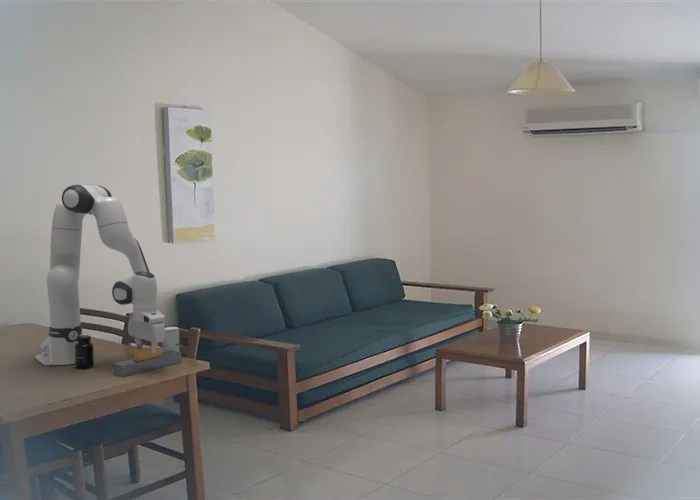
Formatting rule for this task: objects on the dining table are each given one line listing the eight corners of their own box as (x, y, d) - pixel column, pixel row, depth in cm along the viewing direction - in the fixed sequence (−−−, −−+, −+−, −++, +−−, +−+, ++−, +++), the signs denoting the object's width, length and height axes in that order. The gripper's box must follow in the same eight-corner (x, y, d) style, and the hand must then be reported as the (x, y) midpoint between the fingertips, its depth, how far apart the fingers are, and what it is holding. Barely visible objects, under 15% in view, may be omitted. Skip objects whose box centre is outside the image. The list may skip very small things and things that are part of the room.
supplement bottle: (76, 370, 270) (75, 339, 269) (74, 366, 276) (73, 335, 275) (95, 368, 273) (94, 337, 272) (93, 363, 279) (91, 333, 278)
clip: (134, 368, 270) (134, 350, 269) (157, 363, 277) (157, 345, 276) (139, 370, 268) (138, 351, 267) (162, 364, 275) (161, 346, 274)
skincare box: (165, 359, 285) (164, 330, 283) (161, 357, 288) (160, 328, 287) (180, 357, 288) (179, 328, 287) (176, 355, 292) (175, 326, 290)
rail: (113, 373, 265) (112, 363, 264) (172, 360, 284) (172, 350, 284) (121, 376, 261) (121, 366, 260) (181, 362, 280) (181, 352, 280)
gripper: (123, 312, 275) (124, 347, 276) (152, 319, 261) (153, 356, 262) (138, 310, 279) (139, 344, 281) (167, 317, 265) (168, 353, 267)
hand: (146, 350), depth 271 cm, fingers open, 8 cm apart
